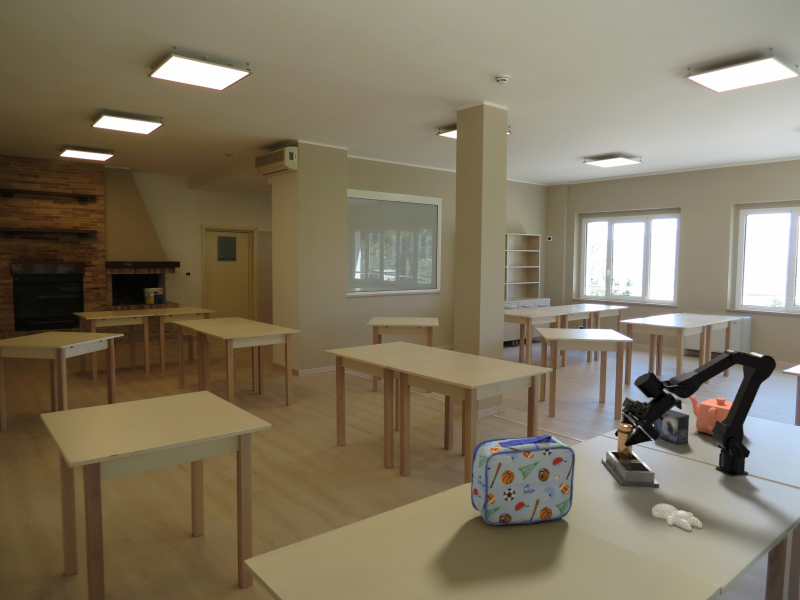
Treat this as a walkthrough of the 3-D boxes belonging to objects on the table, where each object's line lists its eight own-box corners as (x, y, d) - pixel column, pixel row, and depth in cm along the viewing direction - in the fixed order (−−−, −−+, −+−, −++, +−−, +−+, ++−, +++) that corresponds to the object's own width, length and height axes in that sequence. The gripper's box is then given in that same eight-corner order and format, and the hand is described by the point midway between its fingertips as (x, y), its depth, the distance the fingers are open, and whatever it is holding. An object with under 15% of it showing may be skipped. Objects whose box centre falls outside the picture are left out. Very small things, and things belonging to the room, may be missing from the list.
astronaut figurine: (681, 534, 129) (681, 522, 129) (644, 511, 141) (644, 500, 140) (707, 528, 132) (708, 516, 132) (669, 507, 143) (670, 496, 143)
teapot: (694, 420, 220) (696, 388, 219) (747, 432, 205) (749, 397, 204) (673, 429, 207) (675, 395, 206) (728, 443, 192) (730, 406, 191)
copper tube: (634, 465, 169) (636, 426, 167) (626, 468, 166) (628, 429, 165) (621, 460, 172) (623, 422, 171) (613, 463, 170) (615, 425, 168)
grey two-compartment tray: (601, 461, 175) (602, 449, 174) (635, 462, 174) (635, 450, 173) (621, 485, 156) (621, 472, 155) (659, 487, 155) (659, 474, 155)
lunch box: (558, 501, 145) (560, 424, 144) (580, 519, 136) (583, 437, 134) (467, 513, 138) (468, 433, 136) (483, 533, 128) (485, 446, 126)
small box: (652, 436, 200) (653, 409, 199) (663, 433, 203) (664, 407, 202) (676, 445, 190) (678, 417, 190) (688, 442, 193) (690, 414, 192)
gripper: (628, 383, 176) (594, 414, 178) (651, 397, 158) (612, 432, 159) (652, 406, 176) (617, 437, 178) (676, 423, 158) (637, 458, 159)
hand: (620, 440), depth 169 cm, fingers open, 9 cm apart
